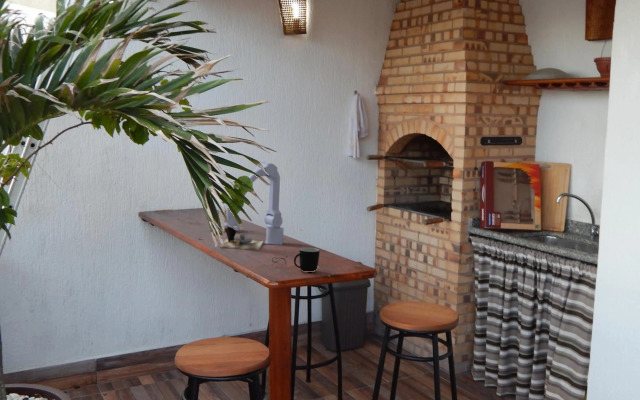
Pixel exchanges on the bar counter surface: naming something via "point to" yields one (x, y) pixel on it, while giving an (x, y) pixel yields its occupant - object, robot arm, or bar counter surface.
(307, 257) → the mug
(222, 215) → the supplement box
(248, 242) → the flange
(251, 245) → the base
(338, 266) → the bar counter surface
